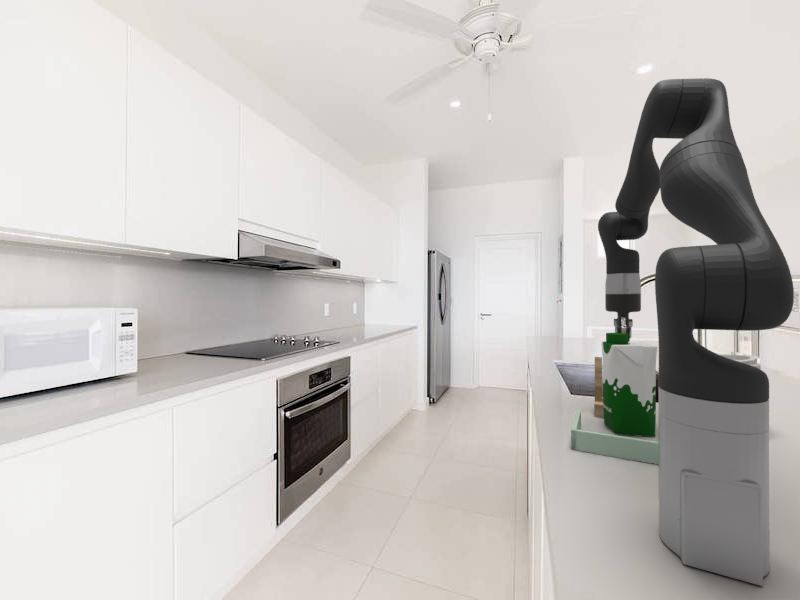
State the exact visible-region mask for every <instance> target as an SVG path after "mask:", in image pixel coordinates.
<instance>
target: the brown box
mask: <svg viewBox="0 0 800 600" xmlns="http://www.w3.org/2000/svg"><path fill="white" fill-rule="evenodd" d="M593 405H594V409H593V410H594V411H593V412H594V413H593V416H594V417H595V418H599V417H603V418H602V419H604V411H603V356H600V357H599V356H594V403H593Z"/></svg>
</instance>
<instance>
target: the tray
mask: <svg viewBox="0 0 800 600" xmlns="http://www.w3.org/2000/svg"><path fill="white" fill-rule="evenodd" d="M581 428H582V410H581V409H576V411H575V414H574V417H573V422H572V426H571V429H570V449H571V450H574V451H578V452H583V453H584V452H585V453H591V454H597V455H602V456H607V457H611V458H612V457H613V458H618V459H625V460H631V461H637V462H640V461H642V462H643V463H646V462H647V464H652V463H654V464H653V465H657V464H658V466H659V450H658V441H654V440H647V439H642V438H635V437H628V436H624V435H616V434H610V433H604V432H603V433H602V432H597V431H590V430H583V429H581Z"/></svg>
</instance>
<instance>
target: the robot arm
mask: <svg viewBox="0 0 800 600" xmlns="http://www.w3.org/2000/svg"><path fill="white" fill-rule="evenodd" d="M727 94H728V93H727V88H726V86H725V84H724V83H723V82H722V81H721V80H720V79H716V78H711V77H710V78H709V77H708V78H707V77H706V78H670V79H662V80H660V81H658V82H657V83H656V84H654V86H653V87H652V89H651V90H650V91H649V94H648V96H647V97H646V100H645V103H644V105H643V109H642V112H641V115H640V119H639V123H638V126H637V130H636V134H635V137H634V141H633V146H632V148H631V153H630V158H629V161H628V162H629V163H628V167H627V171H626V175H625V177H624V181H623V183H622V185H621V188H620V190H619V193H618V195H617V198H616V200H615V205H614V207H615V210H616V211H609V212H605V213H603V214H602V216H600V218H599V220H598V224H597V231H598V234H599V237H600V240H601V244H602V246H603V250H604V254H605V261H606V263H605V264H606V265H605V266H606V267H605V269H606V276H605V283H604V284H605V287H604V289H605V291H604V292H605V303H604V304H605V311H606V312H611V313H612V312H613V313H616V315H617V318H613V326H614V333H626V334H628V342H631V341H630V340H631V338H632V327H633V323H634V322H633V319H632V318H630V316H629V314H630V313H637V312H640V311H641V310H642V286H641V285H642V284H641V283H642V281H641V277H640V276H641V275H640V254H639V251H637V250H636V249H632V248H631V249H630V248H624V247H622V246H621V245H620V244H619V242H618V241H635V240H639V239H641V238H643V236H644V235H646V234H647V231H648V228H649V215H650V209H651V206H652V205H653V203H654V201H655V199H656V198H657V195H658V194H659V193H660V197H661V201H662V204H663V206H664V208H665V209H666V210H667V211H668V213H670V215H672V217H674V218H675V219H676V220H678V221H680V222H681V223H683V224H684V225H686V226H688V227H690V228H692V229H693V230H695V231H696V232H698V233H700V234H702V235H704V236H706V237H707V238H708V239H710V240H711V241H713V242H714V243H715V244H708V245H707V244H705V245H693V246H692V245H691V246H680V247H679V246H678V247H677V246H676V247H672V248H668V249H666V250H664V251H663V252H662V253H661V254H660V256H659V257H658V260H657V262H656V266H655V274H654V275H655V277H654V281H655V282H654V290H655V304H656V307H655V308H656V315H657V317H656V318H657V319H656V320H657V331H658V332H657V333H658V376H657V377H658V380H657V381H658V385H657V386H658V388H657V389H658V416H657V417H658V426H657V427H658V435H657V436H658V439H657V440H658V441H657V442H658V450H659V465H658V533H659V537H660V539H661V541H662V542H663V543H664V545H666V547H667V548H669V550H671V551H672V552H674V553H675V554H676V555H677V556H678V557H679V558H680V560H681V563H682V564H683V565H687V566H689V567H693V568H696V569H700V570H703V571H707V572H710V573H715V574H718V575H721V576H724V577H728V578H732V579H735V580H740V581H743V582H746V583H750V584H753V585H757V586H760V587H761V586H763V585H764V577H765V576H767V575H768V574H769V572H770V571H771V570H770V569H771V568H770V567H771V566H770V564H771V563H770V562H771V561H770V558H771V557H770V554H771V553H770V551H771V550H770V545H771V543H770V540H771V539H770V538H771V537H770V380H769V376H768V375H767V373H766V372H765V371H763V370H762V369H761V370H760V369H758V368H756V367H754V366H751V365H748V364H745V363H741V362H738V361H735V360H732V359H729V358H726V357H723V356H721V355H722V354H718V353H715V352H714V351H712V350H710V349H708V348H706V347H704V345H702V344H701V343H699V342H698V341H697V340H696V339H695V337H694V333H693V332H694V331H695V330H710V331H713V330H716V331H747V332H748V331H749V332H750V331H751V332H753V331H765V330H766V331H767V330H773V329H775V328H779V327H780V326H781V325H783V324H785V322H786V321H787V320H788V319H789V317H790V316H791V313H792V310H793V307H794V300H795V299H794V296H795V294H794V293H795V289H794V282H793V278H792V277H793V276H792V275H791V270H790V267H789V265H788V264H789V263H788V261H787V258H786V256H785V255H784V252H783V250H782V248H781V245H780V244H779V242H778V240H777V238H776V237H775V236H774V233H773V232H772V230H771V228H770V226H769V225H768V223H767V221H766V219H765V217H764V216H763V214H762V212H761V210H760V208H759V205H758V203H757V201H756V198H755V195H754V192H753V189H752V185H751V182H750V178H749V174H748V170H747V168H746V163H745V161H744V158H743V154H742V153H741V151H740V149H739V147H738V144H737V142H736V139H735V138H736V137H735V135H734V131H733V128H732V125H731V124H732V123H731V119H730V107H729V101H728V100H729V99H728V95H727ZM654 139H677V140H678V139H679V140H680V141H679V142H677V144H675V145H674V146H673V147H672V148H671V149H669V150H670V151H668V153H667V154H666V155H665V157H664V158H663V160H662V162H661V164H660V166H659V165H658V163H657V159H656V157H655V155H654V154H655V153H654V149H653V144H654ZM659 191H660V192H659Z"/></svg>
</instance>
